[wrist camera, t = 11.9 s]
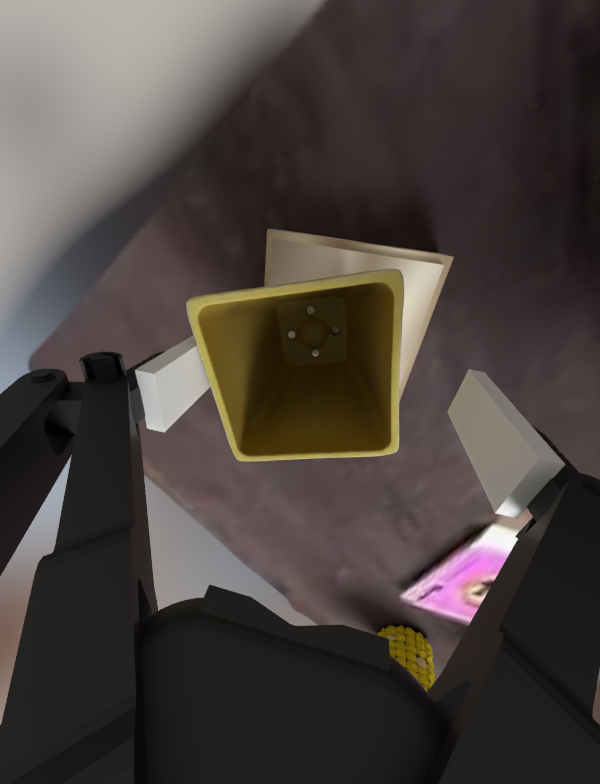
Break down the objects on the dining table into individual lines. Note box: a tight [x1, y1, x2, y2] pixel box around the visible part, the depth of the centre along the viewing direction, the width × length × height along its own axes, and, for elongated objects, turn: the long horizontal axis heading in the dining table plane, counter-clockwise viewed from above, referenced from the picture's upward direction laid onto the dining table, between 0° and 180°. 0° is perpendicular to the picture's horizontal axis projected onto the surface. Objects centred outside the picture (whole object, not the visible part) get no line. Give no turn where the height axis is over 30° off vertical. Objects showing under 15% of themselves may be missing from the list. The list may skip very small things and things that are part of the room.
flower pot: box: [186, 268, 404, 461], centre depth 16 cm, size 9×9×9 cm
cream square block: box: [264, 229, 454, 401], centre depth 22 cm, size 12×12×4 cm
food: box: [378, 625, 435, 691], centre depth 44 cm, size 15×12×10 cm
